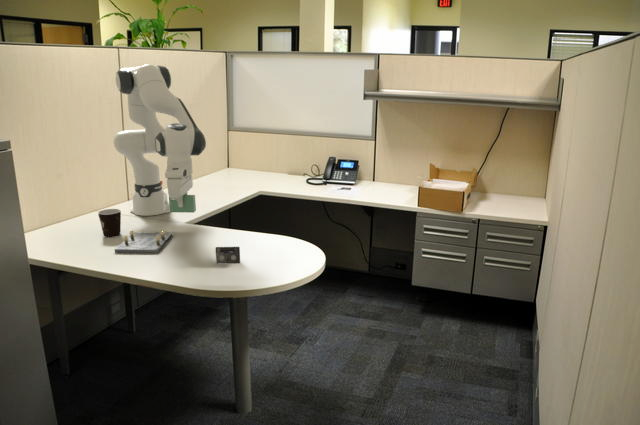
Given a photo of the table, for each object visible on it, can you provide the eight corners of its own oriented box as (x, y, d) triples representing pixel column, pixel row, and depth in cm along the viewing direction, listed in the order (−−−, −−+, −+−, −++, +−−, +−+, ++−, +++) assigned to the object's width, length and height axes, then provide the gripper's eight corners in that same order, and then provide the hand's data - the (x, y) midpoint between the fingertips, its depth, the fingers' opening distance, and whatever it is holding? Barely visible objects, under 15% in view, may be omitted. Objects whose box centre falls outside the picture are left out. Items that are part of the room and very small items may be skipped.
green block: (172, 210, 201) (171, 194, 199) (196, 210, 200) (195, 194, 199) (170, 212, 198) (168, 196, 196) (194, 212, 198) (193, 196, 196)
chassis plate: (134, 236, 217) (132, 225, 216) (173, 236, 217) (172, 225, 215) (114, 253, 198) (113, 241, 196) (157, 253, 197) (156, 241, 196)
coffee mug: (101, 233, 221) (98, 209, 218) (123, 230, 224) (120, 208, 221) (100, 241, 210) (97, 217, 208) (123, 239, 213) (121, 215, 210)
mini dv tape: (240, 262, 189) (239, 246, 187) (239, 263, 188) (239, 247, 186) (217, 262, 189) (216, 246, 187) (216, 264, 187) (215, 247, 186)
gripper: (179, 163, 205) (181, 198, 208) (163, 174, 185) (166, 212, 189) (195, 163, 205) (197, 198, 208) (181, 174, 185) (184, 212, 189)
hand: (182, 205), depth 198 cm, fingers closed on green block, 3 cm apart
